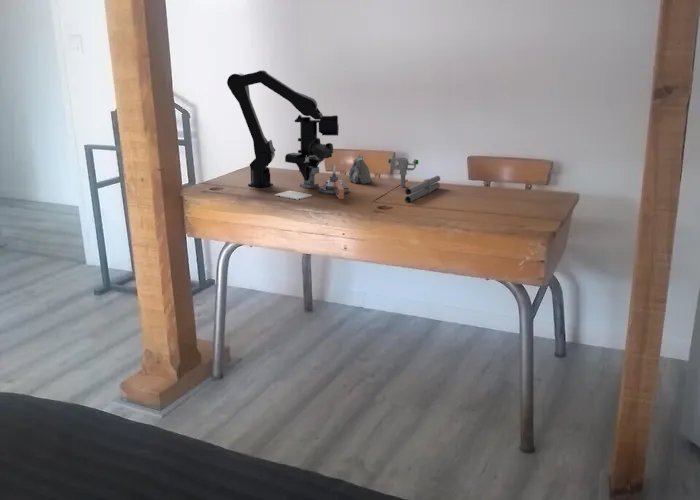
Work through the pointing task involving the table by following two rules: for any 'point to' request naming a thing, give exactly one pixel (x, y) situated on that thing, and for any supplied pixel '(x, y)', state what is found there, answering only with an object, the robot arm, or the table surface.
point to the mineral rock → (359, 171)
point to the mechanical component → (402, 167)
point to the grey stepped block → (310, 178)
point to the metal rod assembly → (424, 186)
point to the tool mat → (293, 195)
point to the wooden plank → (335, 184)
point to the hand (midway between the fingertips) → (309, 180)
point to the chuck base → (331, 192)
